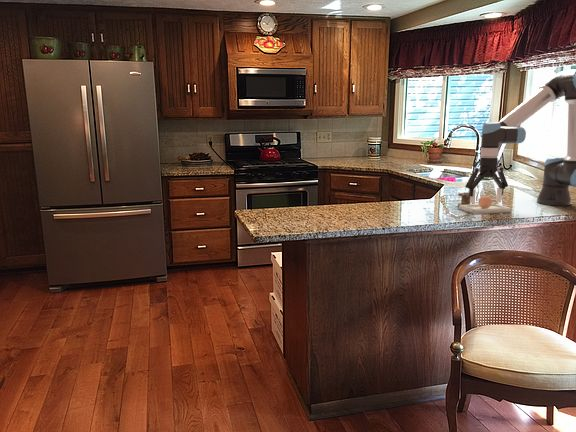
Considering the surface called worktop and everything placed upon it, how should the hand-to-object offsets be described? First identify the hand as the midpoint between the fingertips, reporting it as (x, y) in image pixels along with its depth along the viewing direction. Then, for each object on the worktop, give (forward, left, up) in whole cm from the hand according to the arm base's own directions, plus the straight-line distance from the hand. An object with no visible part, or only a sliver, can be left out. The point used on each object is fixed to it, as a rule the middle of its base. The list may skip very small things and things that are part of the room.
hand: (485, 202), depth 229 cm
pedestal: (+3, -12, -4) cm, 12 cm away
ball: (0, 0, -3) cm, 3 cm away
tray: (0, 0, -4) cm, 4 cm away
